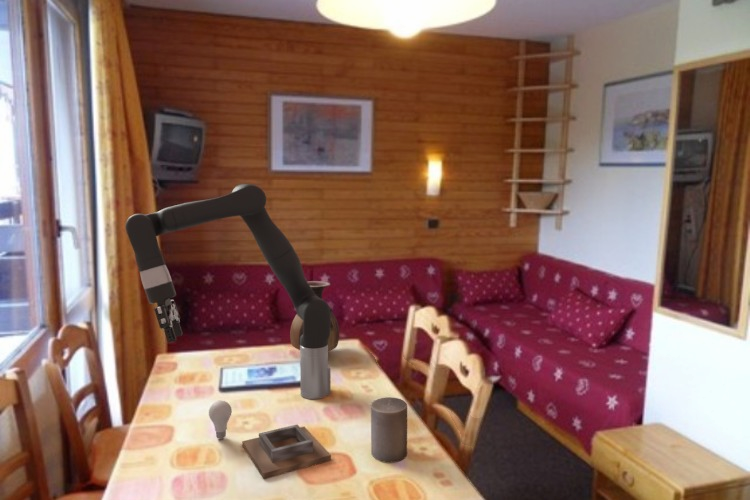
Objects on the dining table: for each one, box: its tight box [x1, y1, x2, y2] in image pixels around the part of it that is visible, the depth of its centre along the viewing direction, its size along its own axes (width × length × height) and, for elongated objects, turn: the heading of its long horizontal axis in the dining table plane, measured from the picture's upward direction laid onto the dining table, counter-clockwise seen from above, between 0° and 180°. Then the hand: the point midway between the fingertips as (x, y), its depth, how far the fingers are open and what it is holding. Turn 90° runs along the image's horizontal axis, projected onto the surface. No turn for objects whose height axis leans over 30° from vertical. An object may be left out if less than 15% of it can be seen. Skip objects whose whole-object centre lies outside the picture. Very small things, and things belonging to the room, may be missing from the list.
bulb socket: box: [241, 424, 332, 480], centre depth 144 cm, size 18×18×4 cm
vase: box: [289, 280, 340, 352], centre depth 217 cm, size 23×19×30 cm
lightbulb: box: [208, 400, 233, 440], centre depth 151 cm, size 6×6×11 cm
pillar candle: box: [370, 396, 408, 463], centre depth 144 cm, size 10×10×15 cm
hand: (175, 338), depth 153 cm, fingers open, 8 cm apart
